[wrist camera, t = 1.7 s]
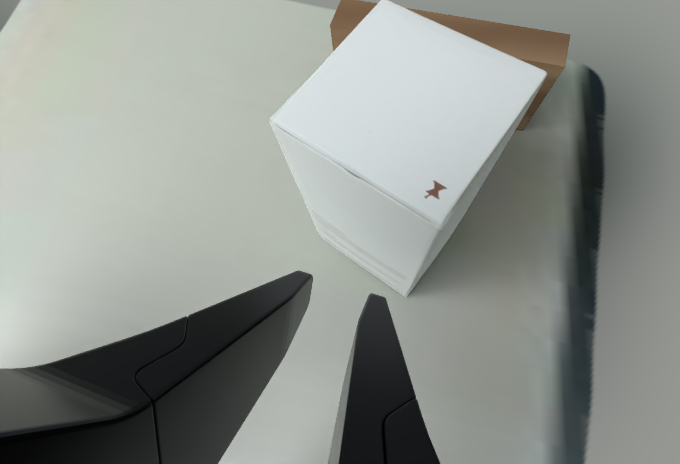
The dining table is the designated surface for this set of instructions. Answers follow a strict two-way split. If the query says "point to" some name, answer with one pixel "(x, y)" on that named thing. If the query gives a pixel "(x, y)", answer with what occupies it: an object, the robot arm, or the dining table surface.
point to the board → (512, 40)
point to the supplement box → (400, 137)
